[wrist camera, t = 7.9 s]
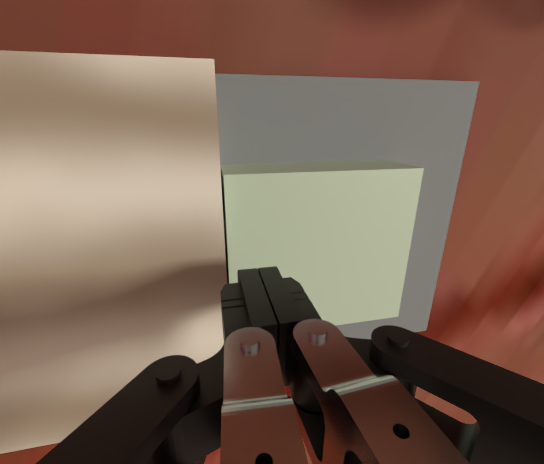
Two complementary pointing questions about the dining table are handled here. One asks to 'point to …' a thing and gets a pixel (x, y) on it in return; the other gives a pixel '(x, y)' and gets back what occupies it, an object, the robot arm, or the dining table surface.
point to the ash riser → (103, 230)
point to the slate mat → (360, 149)
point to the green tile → (325, 230)
